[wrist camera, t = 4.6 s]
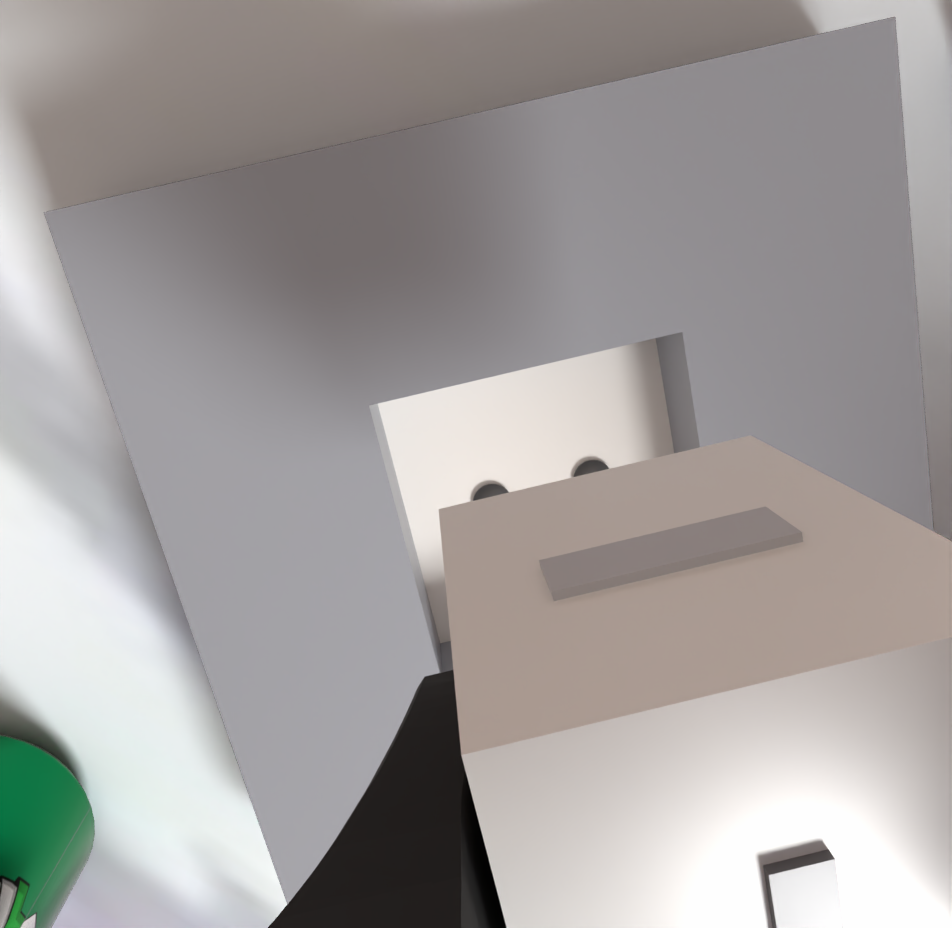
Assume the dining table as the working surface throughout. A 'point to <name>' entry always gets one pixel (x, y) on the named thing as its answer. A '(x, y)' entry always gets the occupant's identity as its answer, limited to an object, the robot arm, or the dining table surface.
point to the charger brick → (705, 697)
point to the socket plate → (487, 360)
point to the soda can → (39, 834)
